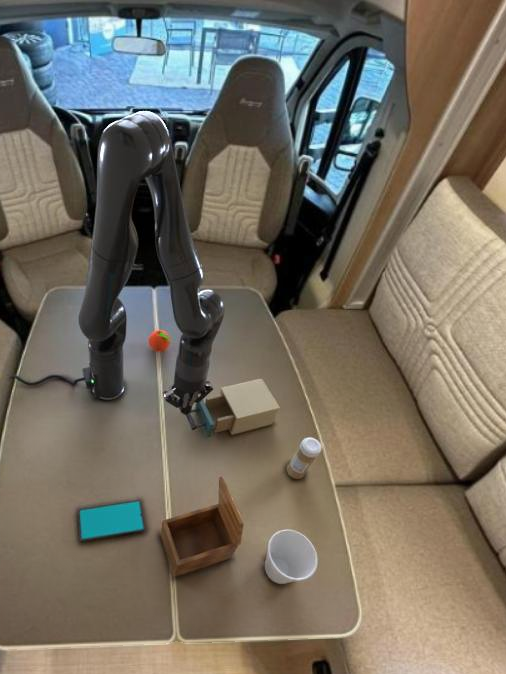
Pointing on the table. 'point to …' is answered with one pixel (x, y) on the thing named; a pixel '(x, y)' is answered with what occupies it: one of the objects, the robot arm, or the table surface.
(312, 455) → the sprinkles bottle
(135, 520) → the smartphone
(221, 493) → the chest lid
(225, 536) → the chest
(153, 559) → the table surface
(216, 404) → the drawer
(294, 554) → the cup
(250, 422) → the cabinet
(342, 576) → the table surface
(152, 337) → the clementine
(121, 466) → the table surface
